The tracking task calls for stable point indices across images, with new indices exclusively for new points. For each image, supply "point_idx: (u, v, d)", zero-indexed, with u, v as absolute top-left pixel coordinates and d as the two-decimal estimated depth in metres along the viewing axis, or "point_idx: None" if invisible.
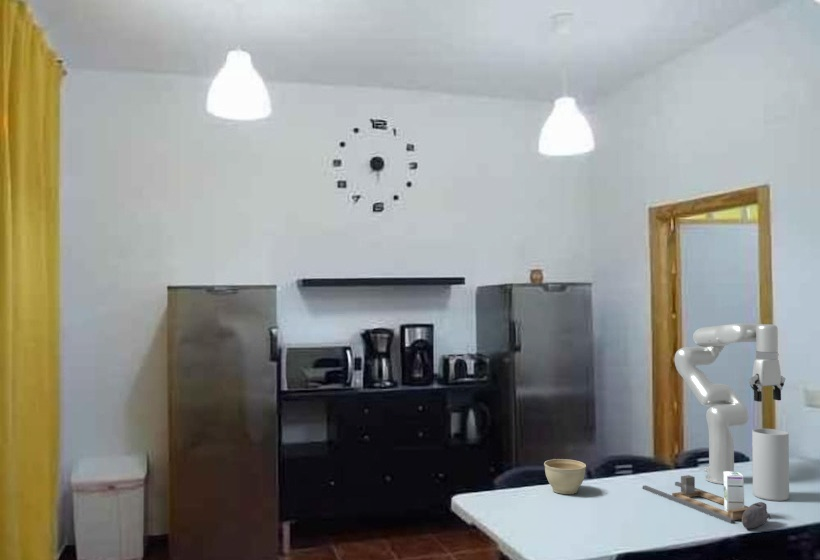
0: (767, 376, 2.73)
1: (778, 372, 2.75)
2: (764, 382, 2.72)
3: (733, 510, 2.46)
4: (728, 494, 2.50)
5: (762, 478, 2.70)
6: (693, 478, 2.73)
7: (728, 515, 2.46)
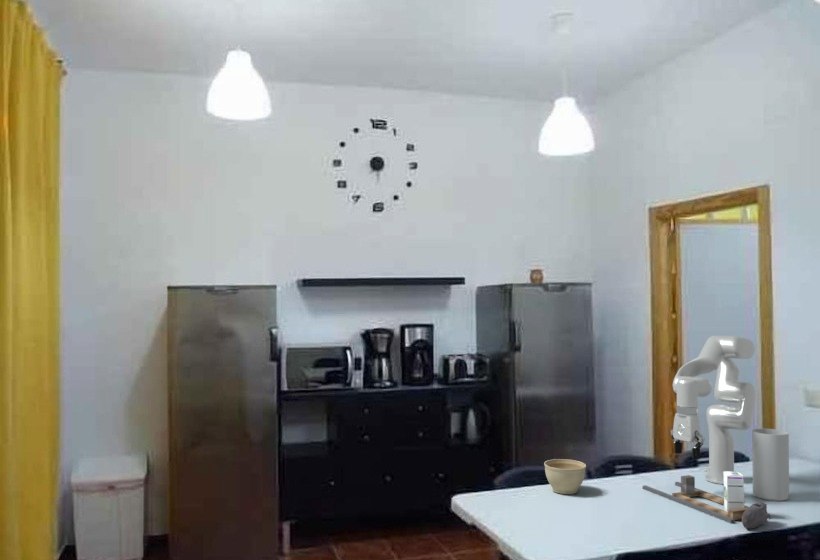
0: None
1: None
2: None
3: (733, 510, 2.46)
4: (728, 494, 2.50)
5: (762, 478, 2.70)
6: (693, 478, 2.73)
7: (728, 515, 2.46)
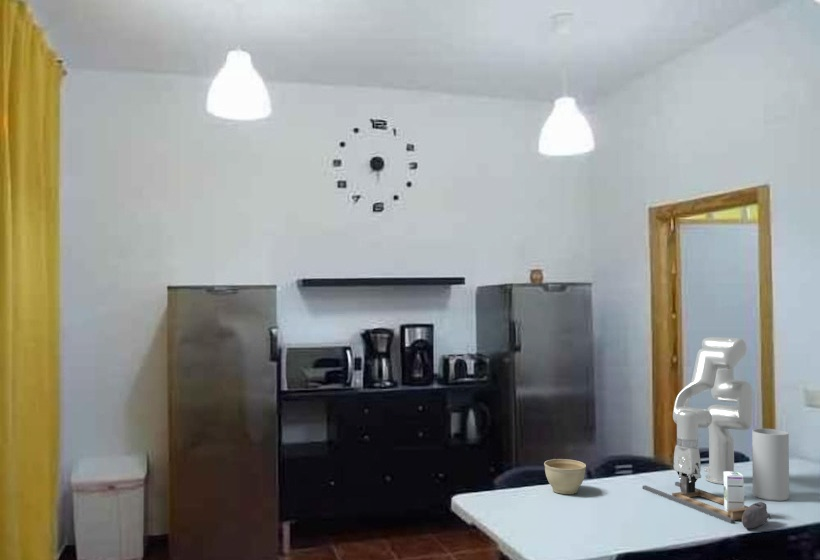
0: None
1: None
2: None
3: (733, 510, 2.46)
4: (728, 494, 2.50)
5: (762, 478, 2.70)
6: None
7: (728, 515, 2.46)
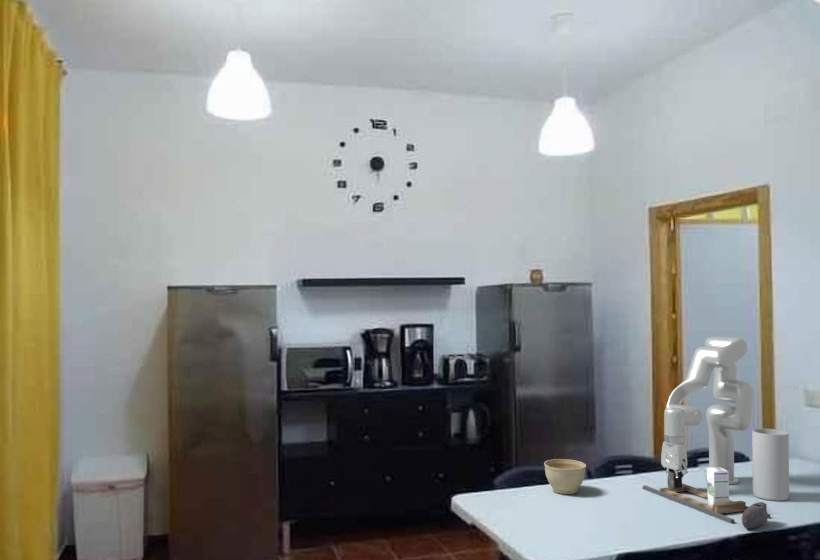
0: None
1: None
2: None
3: (717, 504, 2.52)
4: (715, 490, 2.55)
5: (762, 478, 2.70)
6: None
7: (713, 509, 2.53)
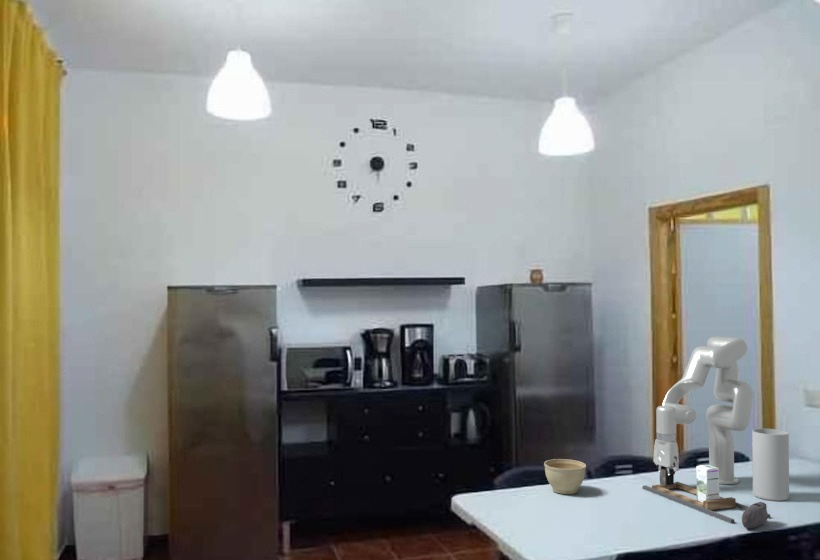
0: None
1: None
2: None
3: (708, 501, 2.57)
4: (707, 487, 2.58)
5: (762, 478, 2.70)
6: None
7: (703, 505, 2.57)
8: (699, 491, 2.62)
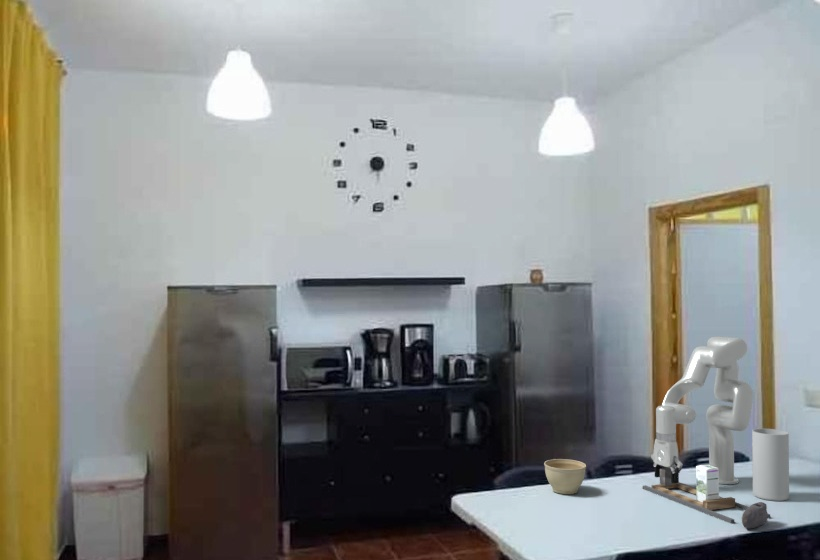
0: None
1: None
2: None
3: (707, 501, 2.57)
4: (707, 487, 2.58)
5: (762, 478, 2.70)
6: (671, 471, 2.84)
7: (703, 505, 2.57)
8: (699, 491, 2.62)
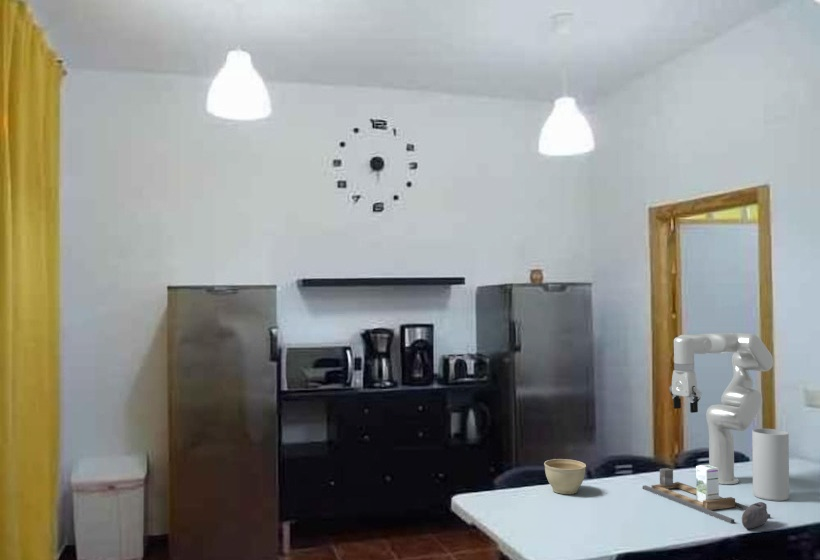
0: None
1: None
2: None
3: (707, 501, 2.57)
4: (707, 487, 2.58)
5: (762, 478, 2.70)
6: (671, 471, 2.84)
7: (703, 505, 2.57)
8: (699, 491, 2.62)
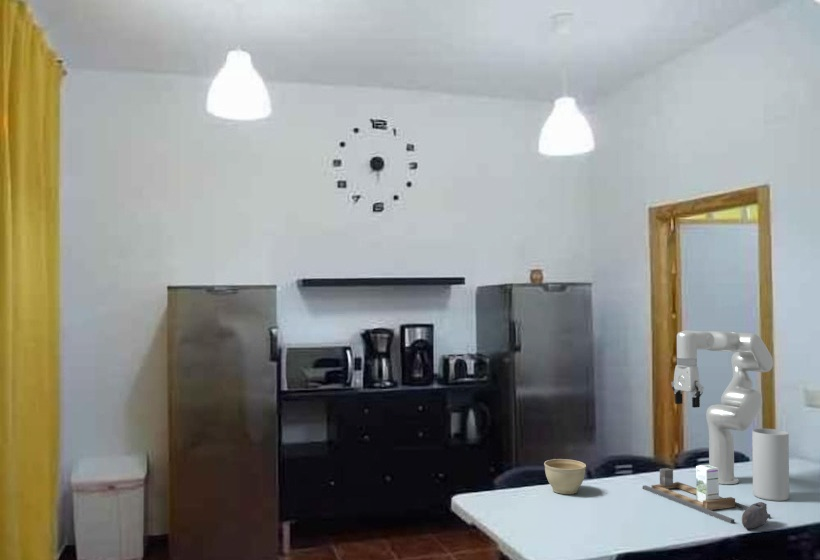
0: None
1: None
2: None
3: (707, 501, 2.57)
4: (707, 487, 2.58)
5: (762, 478, 2.70)
6: (671, 471, 2.84)
7: (703, 505, 2.57)
8: (699, 491, 2.62)
